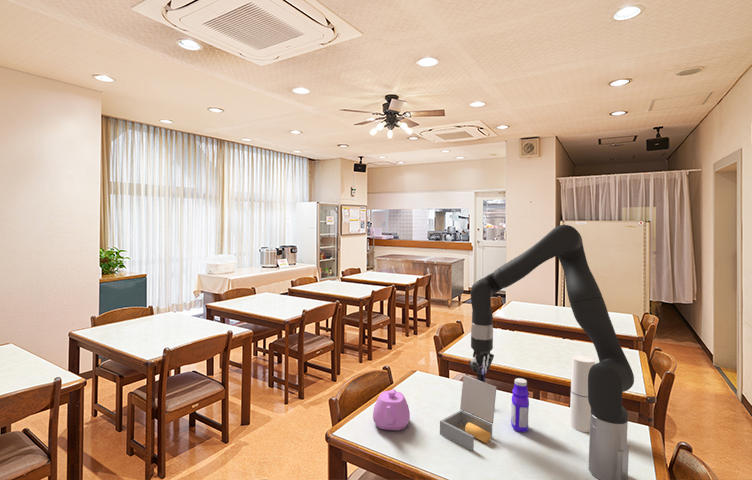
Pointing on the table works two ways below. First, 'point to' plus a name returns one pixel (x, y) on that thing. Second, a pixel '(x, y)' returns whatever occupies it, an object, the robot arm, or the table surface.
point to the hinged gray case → (459, 435)
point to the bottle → (520, 406)
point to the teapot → (391, 411)
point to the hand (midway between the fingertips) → (481, 382)
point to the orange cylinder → (478, 432)
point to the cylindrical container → (580, 393)
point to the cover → (478, 398)
